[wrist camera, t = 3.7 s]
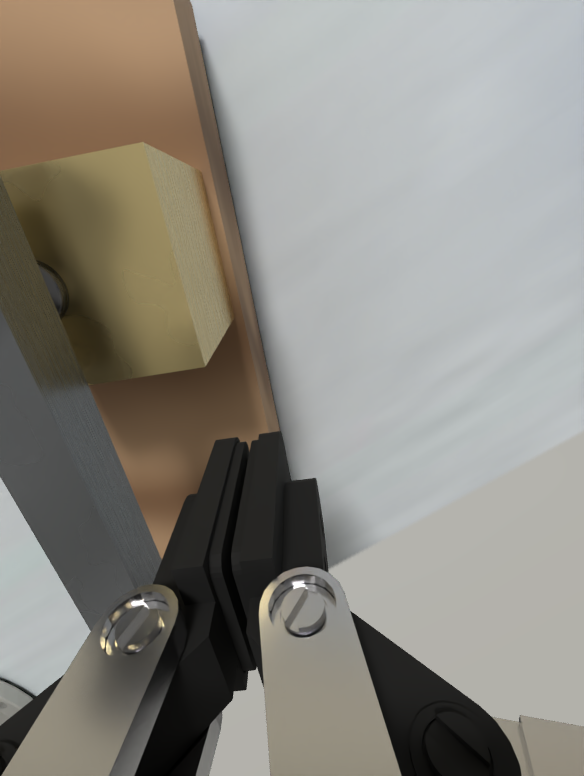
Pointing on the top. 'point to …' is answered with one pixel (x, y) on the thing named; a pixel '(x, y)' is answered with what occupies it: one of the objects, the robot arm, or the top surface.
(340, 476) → the top surface
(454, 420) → the top surface
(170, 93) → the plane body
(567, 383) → the top surface
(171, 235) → the tan knob block
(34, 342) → the lever
